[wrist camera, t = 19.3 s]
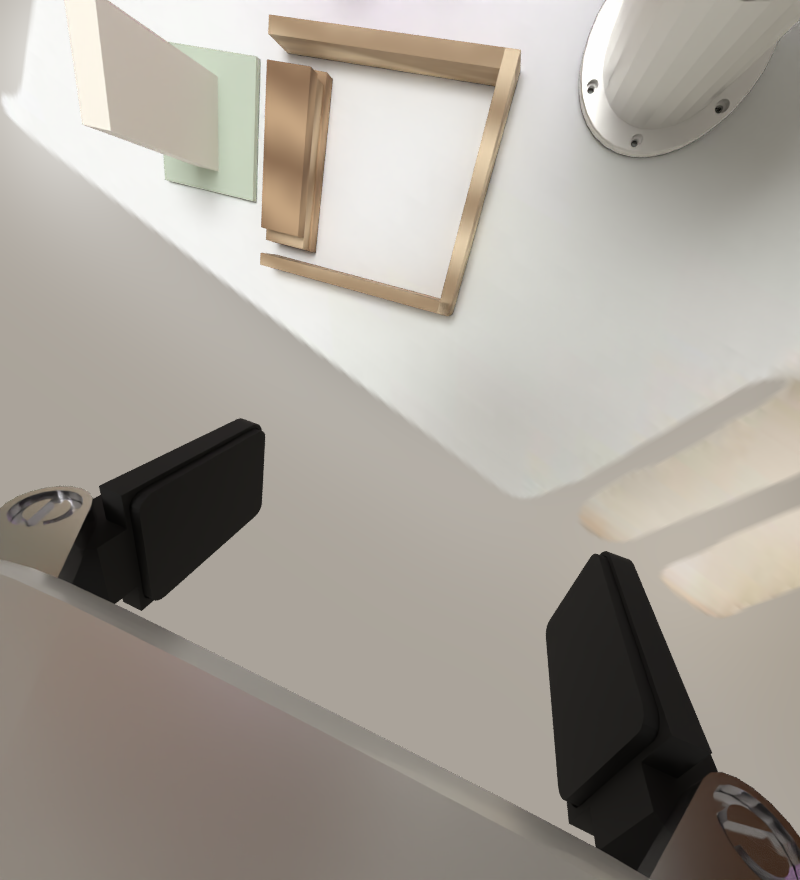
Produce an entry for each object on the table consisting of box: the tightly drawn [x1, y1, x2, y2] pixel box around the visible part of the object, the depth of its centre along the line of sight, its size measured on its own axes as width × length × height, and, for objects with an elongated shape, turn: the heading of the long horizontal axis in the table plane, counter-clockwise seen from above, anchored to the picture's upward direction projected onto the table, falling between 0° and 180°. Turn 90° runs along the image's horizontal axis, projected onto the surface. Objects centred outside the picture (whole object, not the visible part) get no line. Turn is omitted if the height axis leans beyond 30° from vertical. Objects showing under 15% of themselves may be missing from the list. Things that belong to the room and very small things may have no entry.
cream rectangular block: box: [64, 0, 219, 172], centre depth 33 cm, size 8×3×12 cm, turn 166°
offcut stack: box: [261, 60, 333, 252], centre depth 36 cm, size 15×5×4 cm, turn 167°
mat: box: [163, 42, 260, 202], centre depth 38 cm, size 12×12×1 cm
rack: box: [260, 15, 521, 316], centre depth 35 cm, size 20×22×3 cm
